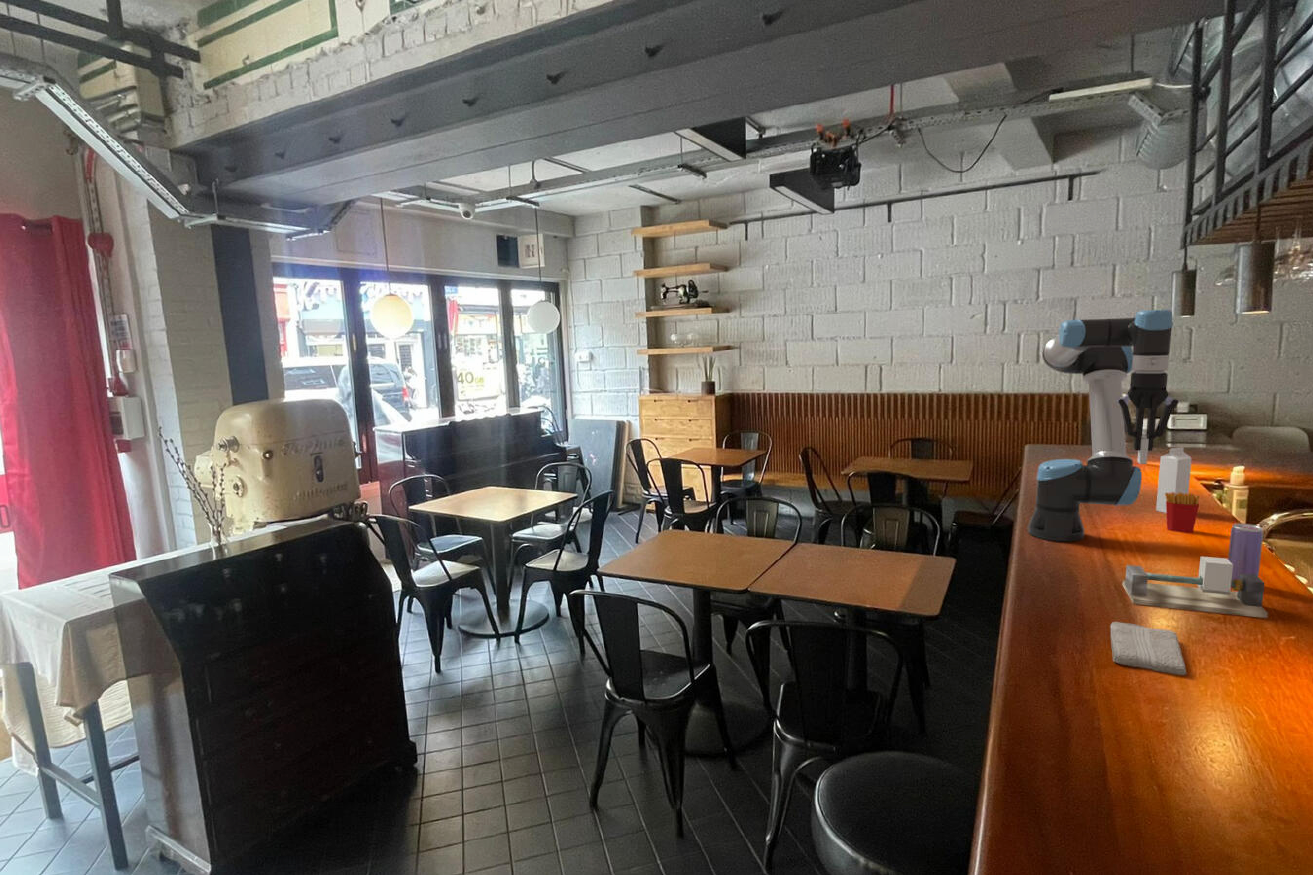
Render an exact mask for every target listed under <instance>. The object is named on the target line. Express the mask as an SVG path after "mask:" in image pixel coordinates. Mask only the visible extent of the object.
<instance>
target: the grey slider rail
mask: <svg viewBox="0 0 1313 875" xmlns="http://www.w3.org/2000/svg"><path fill="white" fill-rule="evenodd" d="M1125 569H1126V570H1125V579H1124V580H1122V586H1123V588H1124V590H1125V592H1126V594H1127V595H1128V597H1129V599H1130V600H1131V602H1132V604H1135V605H1142V606H1153V607H1162V608H1168V609H1169V608H1171V609H1179V610H1187V611H1189V610H1190V611H1196V612H1197V611H1199V612H1205V613H1208V612H1209V613H1214V614H1215V613H1217V614H1224V615H1225V614H1226V615H1235V616H1242V617H1243V616H1245V617H1252V618H1253V617H1254V618H1262V619H1268V618H1269V617H1268V616H1269V612H1268V611H1267V610H1266V609H1264V607H1263V599H1264V592H1265V585H1266V584H1265V583H1266V582H1264V581H1263V580H1262V579H1261V578H1260V577H1259V575H1258V576H1257V575H1251V574H1240V576H1239V579H1233V581H1231V589H1232V590H1233V591H1231V590H1230V595H1225V594H1215V593H1205V592H1202V591H1201V589H1200V588H1199V587H1192V586H1191V587H1190V586H1180V585H1172V584H1171V585H1169V584H1161V583H1152V582H1148V581H1157V582H1167V583H1176V584H1177V583H1178V584H1188V585H1196V586H1198V585H1203V578H1199V577H1194V576H1193V577H1192V576H1184V575H1183V576H1182V575H1173V574H1172V575H1170V574H1162V573H1150V572H1146V571H1145V570H1144V568H1143V566H1142V565H1141V566H1140V565H1132V564H1126V568H1125Z"/></svg>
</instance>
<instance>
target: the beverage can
mask: <svg viewBox="0 0 1313 875" xmlns="http://www.w3.org/2000/svg"><path fill="white" fill-rule="evenodd" d="M1263 530H1264V528H1263V527H1261V526H1259V525H1256V524H1249V523H1234V524H1232V528H1231V530H1230V539H1229V540H1230V541H1229V547H1228V548H1229V549H1228V558H1227V559H1228V560H1229V561H1230V562H1231V563H1232V564H1233V570H1232V579H1231V581H1233V579H1239V576H1240V574H1251V575H1257V576H1258V577H1259V574H1260V566H1261V565H1260V564H1261V556H1262V549H1263V539H1264V532H1263Z"/></svg>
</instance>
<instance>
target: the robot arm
mask: <svg viewBox="0 0 1313 875" xmlns="http://www.w3.org/2000/svg"><path fill="white" fill-rule="evenodd" d="M1173 325H1174V321H1173V311H1171V310H1170V309H1151V310H1149V309H1147V310H1146V309H1145V310H1139V311H1137V312H1136V314H1135V316H1133V317H1124V318H1123V317H1121V318H1116V317H1115V318H1097V319H1093V318H1090V319H1079V318H1078V319H1077V318H1076V319H1068V320H1064V321H1062V322H1061V324H1060V327H1059V333H1058V334H1059V335H1058V337H1055V338H1052V339H1051V340H1049V341H1048V342H1047V343H1046V344H1045V346H1044V347H1043V349H1042V359H1043V362H1044V363H1045V364H1046V365H1047V367H1049V368H1050V369H1052V370H1053V371H1057V372H1059V373H1064V374H1070V375H1072V374H1073V375H1074V374H1076V375H1077V374H1079V375H1082V380H1083V382H1084V383H1086V384H1088V391H1089V392H1088V393H1089V412H1090V413H1089V414H1090V428H1091V429H1090V432H1091V434H1090V435H1091V449H1092V453H1091V454H1092V456H1091V457H1089V458H1088V459H1087V460H1086V465H1084V464H1083V463H1082V462H1083V461H1082V460H1079V459H1074V458H1073V459H1071V458H1061V459H1060V458H1058V459H1051V460H1047V461H1044V462H1042V463H1040V464H1039V466H1038V469H1037V475H1036V497H1035V498H1036V499H1035V509H1034V512H1033V514H1032V516H1031V518H1030V520H1029V523H1028V524H1027V526H1028V527H1027V531H1028V534H1030V535H1031V536H1033V537H1036V538H1038V539H1042V540H1047V541H1051V542H1052V541H1053V542H1065V543H1066V542H1078V541H1081V540H1084V539H1085V527H1084V525H1083V521H1082V519H1081V515H1080V504H1090V505H1091V504H1092V505H1109V506H1110V505H1112V506H1113V505H1114V506H1129V505H1132V504H1134V503H1135V502H1136V500H1137V499H1138V496H1139V495H1140V491H1141V486H1142V479H1143V478H1142V476H1143V475H1142V469H1141V468H1140V467H1139V466H1137V465H1135V466H1134V464H1133V463H1134V460H1133V459H1132V458H1131V457H1130V456H1129V455H1127V449H1126V448H1127V447H1126V434H1127V435H1128V436H1130V437H1133V438H1134V440H1133V450H1135V451H1137V459H1136V462H1137V463H1138V464H1139V465H1147V464H1148V455H1149V454H1148V453H1149V452H1152V451H1153V450H1154V440H1155V438H1158V437H1159V438H1160V437H1163V435H1164V434H1165V430H1166V428H1167V425H1168V424H1169V420H1170V417H1171V415H1172V413H1173V410H1174V408H1175V407H1176V406H1177V405H1178V404H1179V400H1178V399H1175V398H1173V397H1172V396H1170V395H1169V392H1168V391H1167V390H1168V389H1167V386H1168V376H1169V375H1168V373H1167V372H1166V371H1168V370H1169V363H1170V362H1169V359H1170V351H1171V350H1170V349H1171V339H1172V330H1173V329H1172V328H1173ZM1132 348H1133V349H1132ZM1132 371H1133V372H1132ZM1131 372H1132V373H1131ZM1130 373H1131V375H1130V384H1129V389H1128V391H1127V393H1126V395H1125V396H1123V388H1122V386H1123V385H1122V384H1123V383H1122V382H1123V381H1124V380H1126V378H1127V376H1128V374H1130ZM1130 402H1132V404H1133V405H1134V407H1135V421H1134V428H1133V424H1132V423H1133V422H1132V418H1131V412H1130V409H1129V405H1130ZM1163 402H1164V404H1165V405H1164V408H1163V410H1162V412H1161V414H1160V417H1159V421H1158V423H1157V426H1156V420H1157V412H1158V407H1159V406H1161V405H1162V403H1163ZM1146 409H1147V422H1146V423H1147V424H1146V432H1145V435H1146V437H1143V429H1144V419H1145V417H1144V416H1145V410H1146ZM1125 432H1126V434H1125Z"/></svg>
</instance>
